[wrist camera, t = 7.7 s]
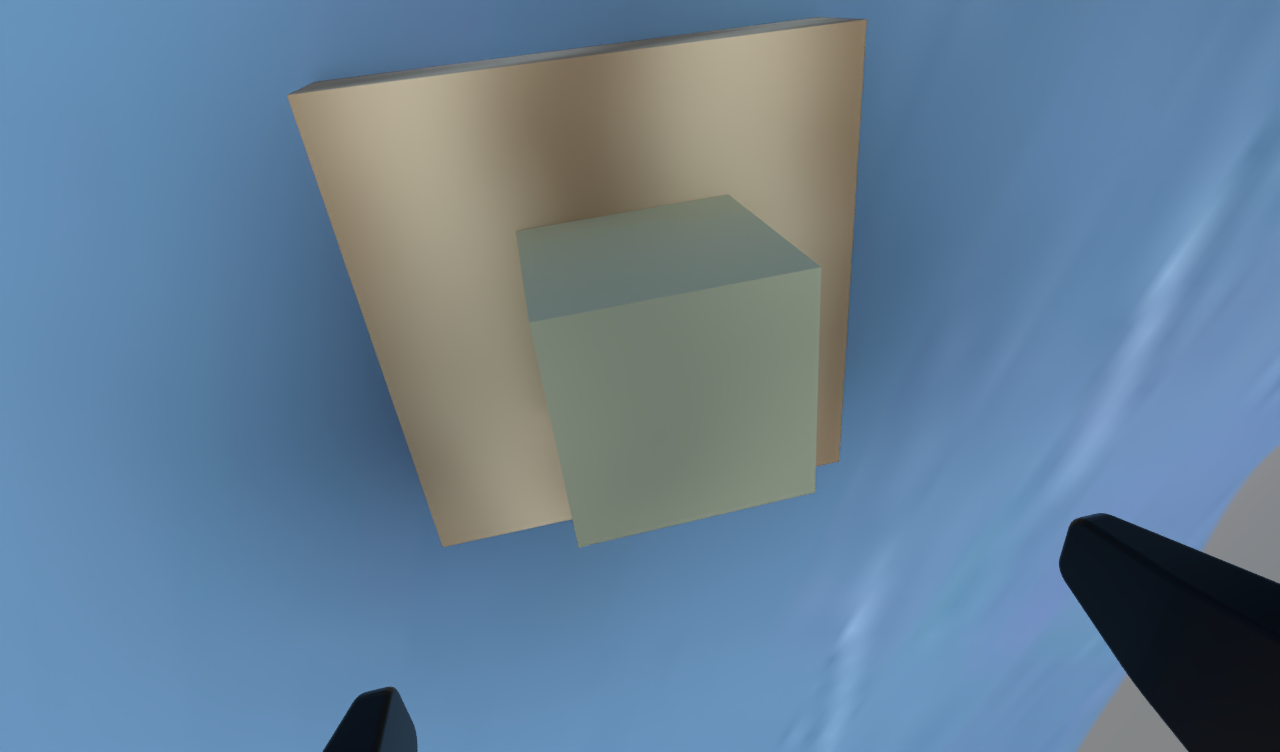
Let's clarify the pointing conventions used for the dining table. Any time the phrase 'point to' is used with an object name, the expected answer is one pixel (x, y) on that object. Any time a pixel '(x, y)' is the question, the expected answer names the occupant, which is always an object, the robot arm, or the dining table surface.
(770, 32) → the base slab
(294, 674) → the dining table surface
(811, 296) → the cube
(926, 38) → the dining table surface
